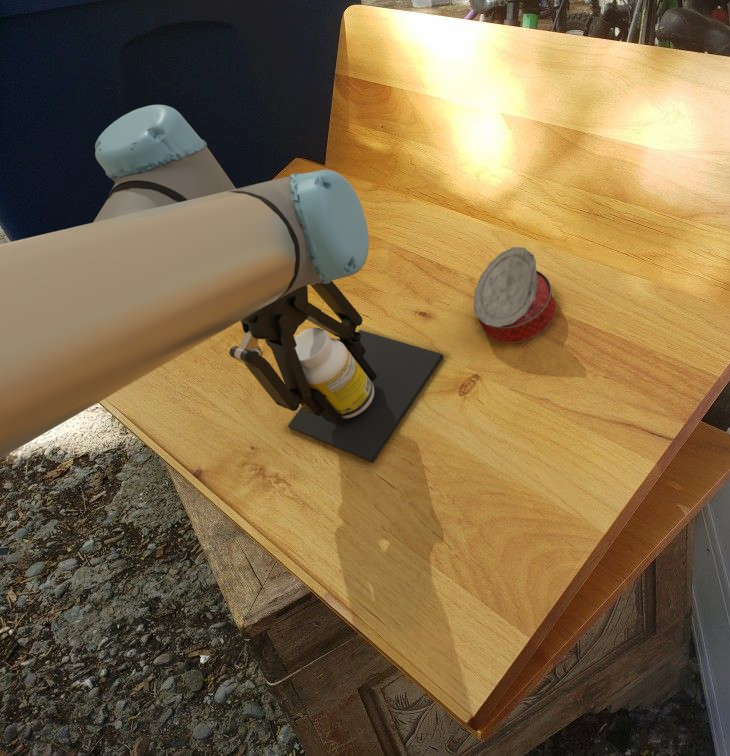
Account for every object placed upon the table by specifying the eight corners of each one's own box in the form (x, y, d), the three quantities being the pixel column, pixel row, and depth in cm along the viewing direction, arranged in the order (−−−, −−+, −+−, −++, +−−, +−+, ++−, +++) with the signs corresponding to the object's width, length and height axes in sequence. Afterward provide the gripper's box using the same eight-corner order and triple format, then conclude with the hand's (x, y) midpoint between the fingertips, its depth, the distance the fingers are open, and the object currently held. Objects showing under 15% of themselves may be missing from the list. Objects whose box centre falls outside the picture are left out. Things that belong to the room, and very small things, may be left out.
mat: (372, 463, 78) (370, 460, 78) (289, 428, 85) (287, 425, 85) (443, 356, 85) (442, 353, 84) (361, 332, 92) (359, 329, 91)
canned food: (556, 351, 86) (542, 336, 76) (480, 347, 89) (457, 333, 79) (563, 264, 87) (549, 239, 78) (488, 263, 90) (465, 238, 80)
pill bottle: (321, 401, 84) (273, 346, 76) (361, 370, 85) (318, 312, 77) (343, 429, 80) (295, 375, 72) (384, 397, 82) (342, 340, 73)
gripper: (277, 192, 71) (372, 332, 89) (151, 330, 63) (282, 453, 81) (329, 201, 67) (417, 345, 85) (201, 348, 59) (327, 473, 77)
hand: (351, 397), depth 83 cm, fingers closed on pill bottle, 6 cm apart
